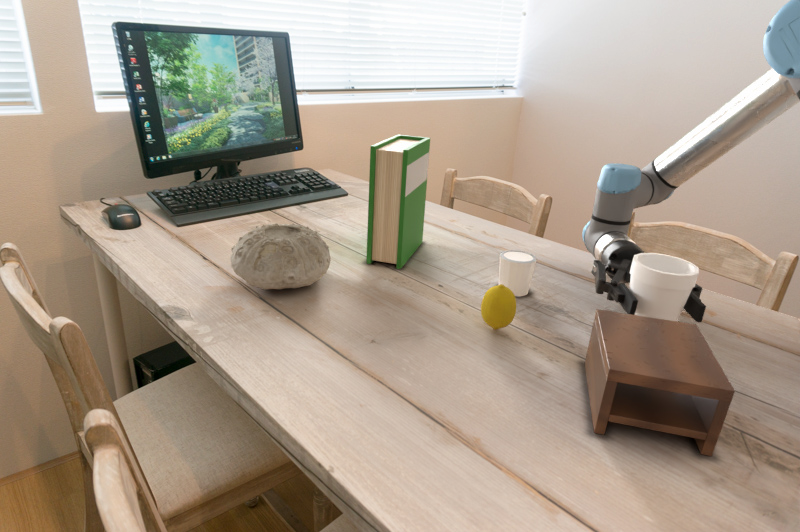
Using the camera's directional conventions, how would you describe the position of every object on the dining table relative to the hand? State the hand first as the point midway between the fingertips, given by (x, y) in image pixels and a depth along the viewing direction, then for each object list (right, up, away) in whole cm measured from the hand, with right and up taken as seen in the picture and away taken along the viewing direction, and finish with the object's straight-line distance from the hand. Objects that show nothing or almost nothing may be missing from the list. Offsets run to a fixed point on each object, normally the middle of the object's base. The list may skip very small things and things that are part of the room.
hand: (667, 311), depth 80 cm
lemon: (-25, -4, +6) cm, 26 cm away
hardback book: (-41, +10, +37) cm, 56 cm away
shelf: (-9, -11, -10) cm, 18 cm away
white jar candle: (-19, +2, +21) cm, 28 cm away
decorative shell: (-62, +4, +19) cm, 65 cm away
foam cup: (0, -5, +7) cm, 8 cm away
